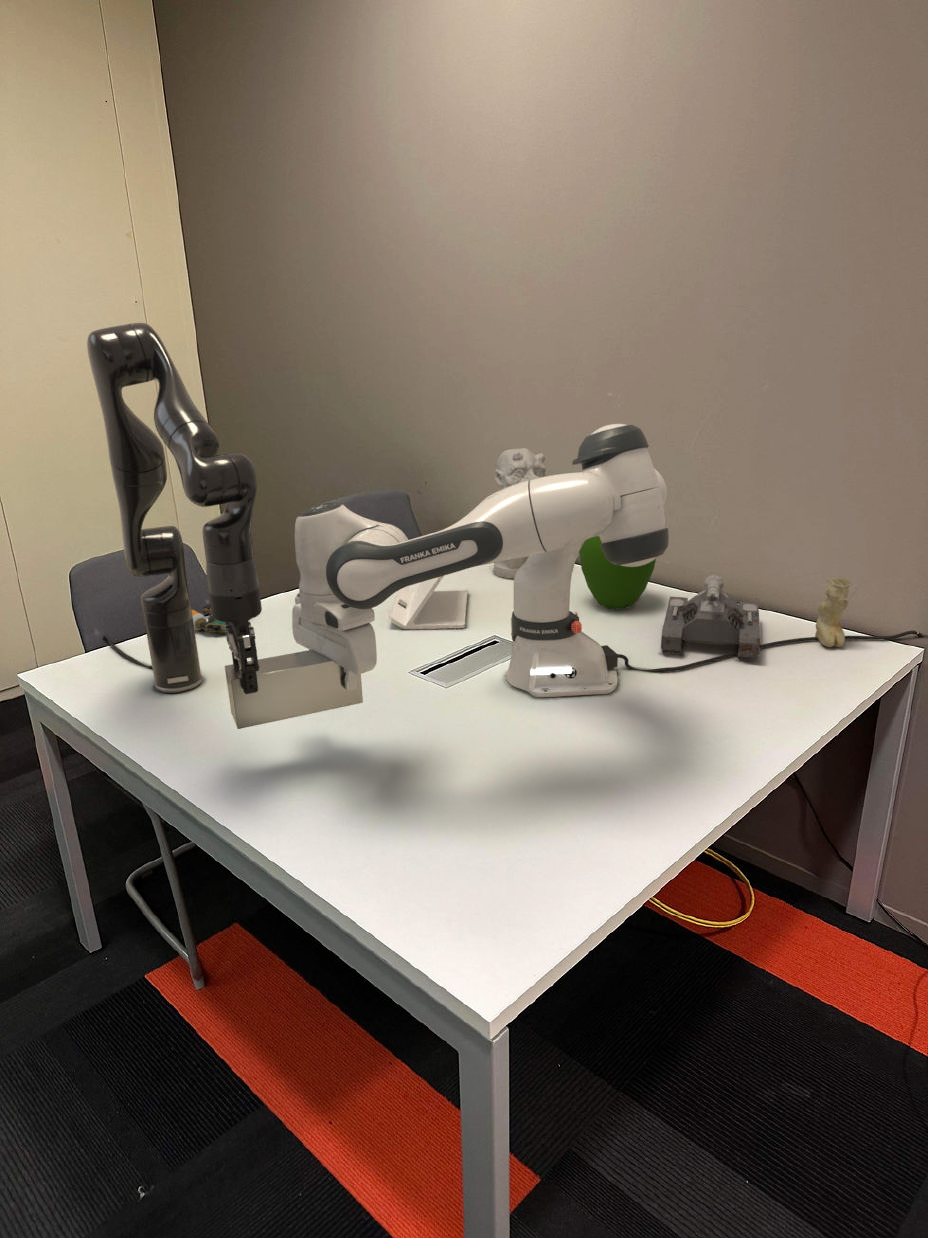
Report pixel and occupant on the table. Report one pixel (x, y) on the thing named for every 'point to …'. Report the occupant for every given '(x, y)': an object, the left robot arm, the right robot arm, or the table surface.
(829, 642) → the sculpture
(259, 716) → the box
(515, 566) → the bust sculpture
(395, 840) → the table surface
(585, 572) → the vase
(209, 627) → the spray gun
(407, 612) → the tablet stand
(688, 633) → the toy
